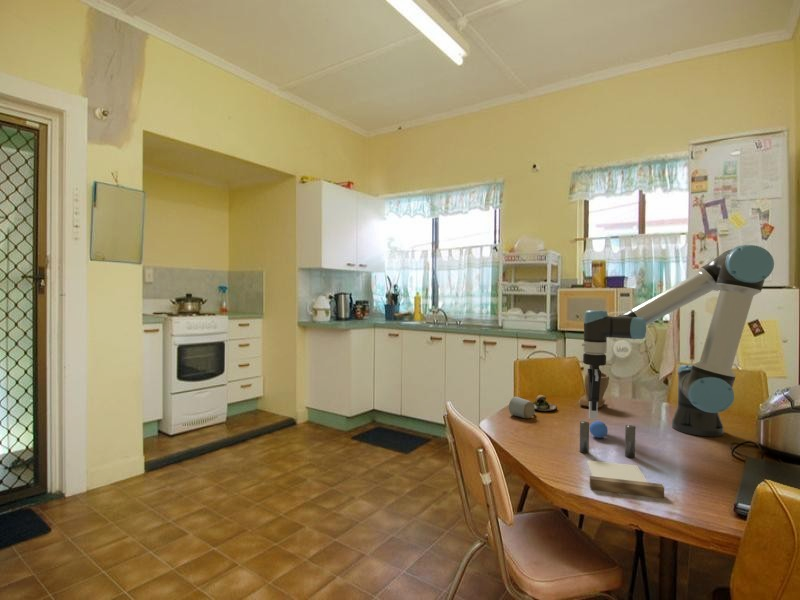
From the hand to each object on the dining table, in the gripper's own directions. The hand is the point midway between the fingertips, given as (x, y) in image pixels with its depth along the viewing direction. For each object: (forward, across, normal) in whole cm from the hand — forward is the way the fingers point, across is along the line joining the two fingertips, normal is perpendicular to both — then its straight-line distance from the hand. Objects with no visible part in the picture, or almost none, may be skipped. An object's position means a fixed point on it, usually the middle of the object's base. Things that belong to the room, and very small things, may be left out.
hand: (593, 418), depth 155 cm
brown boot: (+4, -36, +5) cm, 37 cm away
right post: (+3, +26, +7) cm, 27 cm away
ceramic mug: (+4, -10, -24) cm, 26 cm away
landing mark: (+3, +40, 0) cm, 40 cm away
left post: (+4, +26, -6) cm, 27 cm away
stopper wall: (+3, +52, 0) cm, 52 cm away
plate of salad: (+4, -23, -17) cm, 29 cm away
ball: (+1, +10, 0) cm, 10 cm away
